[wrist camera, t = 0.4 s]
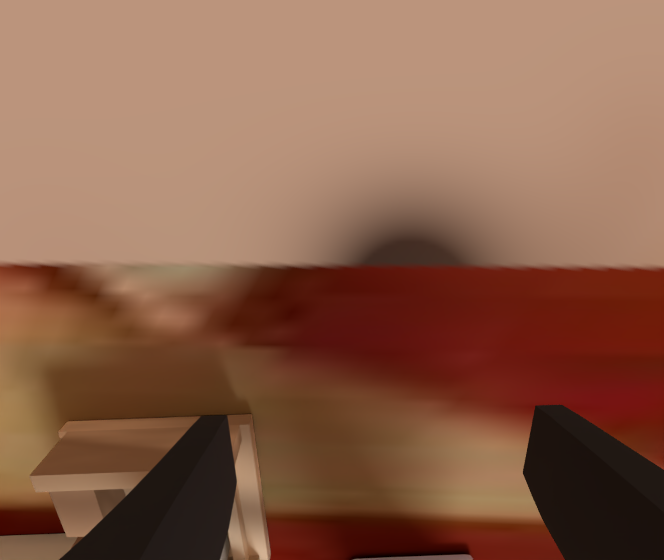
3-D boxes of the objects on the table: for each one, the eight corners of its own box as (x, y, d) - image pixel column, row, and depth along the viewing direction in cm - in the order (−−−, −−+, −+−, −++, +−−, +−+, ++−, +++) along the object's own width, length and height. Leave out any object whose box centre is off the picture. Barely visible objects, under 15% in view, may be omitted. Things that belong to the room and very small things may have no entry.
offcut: (127, 501, 22) (109, 535, 20) (88, 503, 22) (66, 537, 20) (111, 449, 21) (90, 481, 19) (70, 451, 21) (45, 482, 19)
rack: (270, 552, 25) (262, 618, 22) (114, 559, 25) (82, 625, 22) (251, 414, 21) (237, 467, 18) (67, 421, 21) (18, 476, 18)
